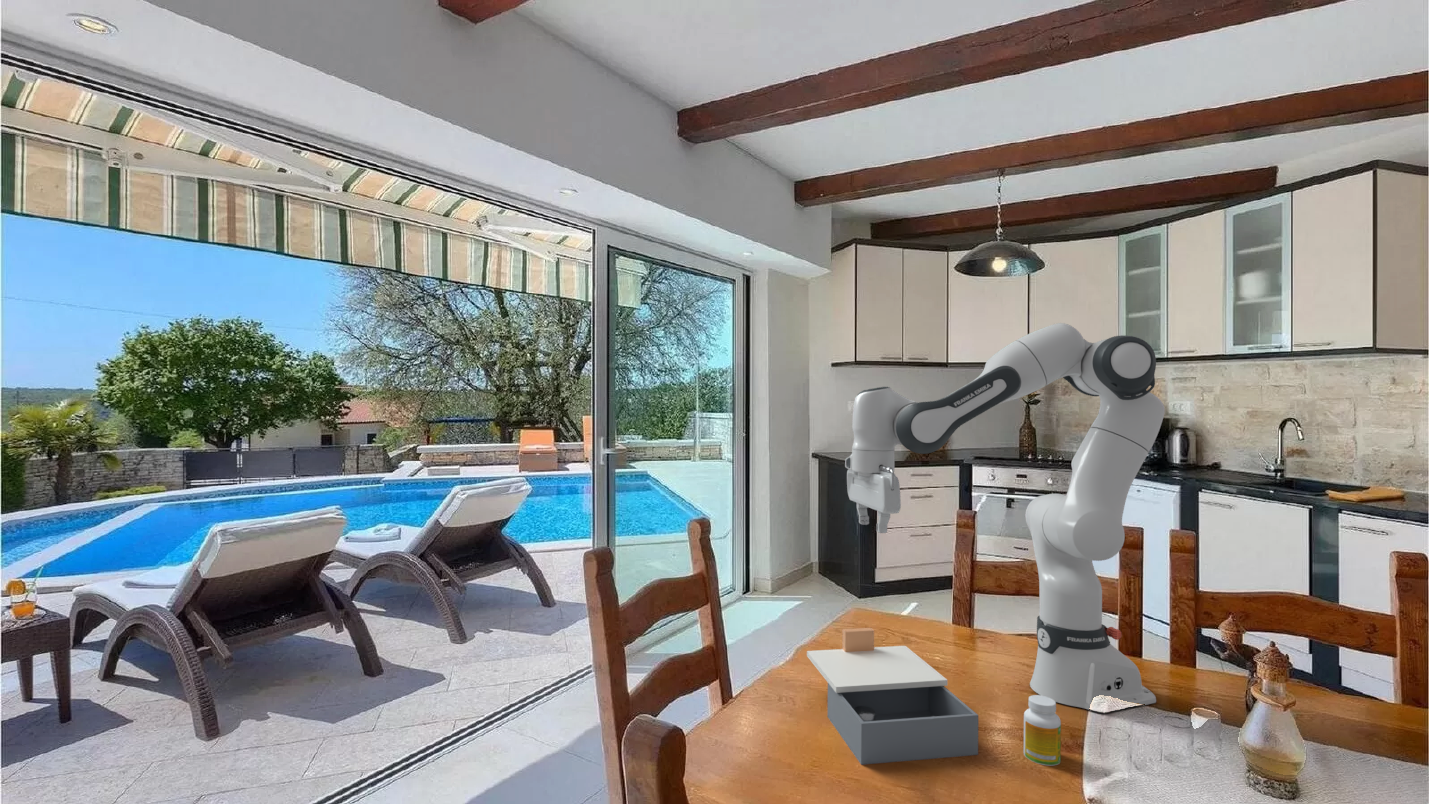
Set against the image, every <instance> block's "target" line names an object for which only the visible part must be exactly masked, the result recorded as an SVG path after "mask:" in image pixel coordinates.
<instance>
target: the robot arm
mask: <svg viewBox="0 0 1429 804" xmlns="http://www.w3.org/2000/svg"><path fill="white" fill-rule="evenodd" d="M983 368H984V369H983V370H982V372H981V373H980V374H979V376H978V377H976V378H975V379H973V380H972V381H970V382H969V383H966V384H965V385H964V386H961V387H960V388H958V389H957V390H955V391H953V392H951V393H950V394H948V395H946V396H944V397H942V398H940V399H936V400H932V401H931V400H930V401H920V402H918V401H916V400H913V399H910V398H907V397H906V396H903V395H902V394H900V393H898V392H897V391H895V390H893V389H892V388H891V387H890V386H880V387H874V388H869V389H864V390H861V391H860V392H859V393H857V395H856V396H855V398H854V402H853V405H852V406H853V407H852V408H853V409H852V424H851V425H852V427H851V428H852V429H851V430H852V433H853V442H852V446H851V454H850V455H849V456H847V457H846V458H845V460H844V461H845V463H844V467H845V468H846V469H847V471H846V485H847V486H846V488H847V489H846V490H847V495H848V498H849V500H850V501H852V502H853V503H856V510H857V515H858V523H859V524H860V525H862V526H863V525H865V526H867V525H869V524H870V516H869V515H868V509H869V508H870V509H872V510H874V511H877V516H878V520H877V521H878V522H877V523H876V524H875V525H876V528H875V531H876V532H877V533H880V534H886V533H888V525H889V521H890V518H891V514H892V515H893V514H899V512H900V511H901V507H902V506H901V505H902V502H901V487H900V485H901V484H900V481H899V478H898V476H897V475H896V473H894V472H895V462H896V460H895V457H896V456H895V454H896V453H895V448H896V446H897V445H898V446H899V445H902V446H903V447H904V448H906V449H907V450H908V451H909V452H912V453H915V454H922V455H923V454H924V455H925V454H931V453H934V452H936V451H938V450H940V449H941V448H942V447H943V446H944V445H945V444H946V443H948V441H949V440H950V438H951V436H952V435H953V434H954V433H955V432H956V431H957V429H958V428H960V427H961V426H963V425H964V424H966V423H967V422H969V421H971V420H972V419H975V418H976V417H978V416H980V415H982V414H983V413H985V412H987V411H988V410H990V409H992V408H994V407H995V406H998V405H1000V404H1003V403H1006V402H1011V401H1014V400H1016V399H1019V398H1023V397H1025V396H1028V395H1030V394H1033V393H1035V392H1037V391H1039V390H1041V389H1042V388H1045V387H1046V386H1048V385H1049V384H1052V383H1053V382H1055V381H1057V380H1059V379H1062V378H1063V379H1064V380H1065V381H1066V382H1068V383H1069V384H1070V385H1071V386H1072V388H1074V389H1075V390H1076V391H1078V392H1079V393H1081V394H1083V395H1086V396H1090V397H1099V403H1100V404H1099V411H1098V413H1097V416H1096V418H1095V419H1094V421H1093V423H1092V424H1091V426H1090V427H1089V429H1088V431H1087V433H1086V434H1085V437H1084V438H1083V439H1082V442H1081V443H1080V444H1079V447H1078V449H1076V450H1077V451H1076V452H1075V454H1074V456H1073V458H1072V460H1071V469H1072V470H1071V478H1070V482H1069V485H1068V488H1067V489H1068V490H1067V492H1066V494H1063V493H1062V494H1061V493H1049V494H1048V493H1047V494H1042V495H1038V496H1036V497H1035V498H1033V499H1031V500H1030V502H1029V503H1028V504H1027V507H1026V509H1025V516H1024V517H1025V524H1026V525H1027V528H1028V530H1029V533H1030V535H1031V540H1032V546H1033V552H1034V556H1035V563H1036V565H1037V566H1036V567H1037V573H1038V580H1039V581H1038V584H1039V585H1038V586H1039V596H1038V597H1039V607H1038V608H1039V615H1038V616H1037V618H1036V638H1037V640H1036V641H1037V652H1036V653H1037V654H1036V659H1035V665H1034V669H1033V672H1032V676H1031V680H1030V681H1029V686H1030V688H1031V689H1032V691H1034V692H1035V693H1036V694H1037V695H1041V696H1046V697H1049V698H1051V699H1053V700H1054V701H1055V702H1056V703H1059V704H1062V705H1066V706H1071V707H1077V708H1082V709H1086V710H1088V711H1090V710H1089V708H1090V704H1091V702H1092V700H1093V698H1094V697H1096V696H1099V695H1104V696H1111V697H1113V698H1118V699H1120V700H1123V701H1127V702H1134V703H1139V704H1145V705H1144V706H1147V705H1151V704H1156V703H1157V697H1156V695H1155V694H1154V693H1153V692H1152V691H1151V690H1150V689H1148V688H1147V687H1145V686H1144V685H1142V683H1143V682H1142V676H1141V673H1140V669H1139V668H1138V666H1137V665H1136V664H1135V663H1134V662H1133V660H1131V659H1130V658H1129V657H1127V656H1126V655H1125V654H1123V653H1122V652H1121V651H1120V650H1119V649H1117V648H1116V647H1115V646H1114V645H1112V644H1111V641H1110V639H1109V638H1112V639H1114V640H1115V641H1118V640H1120V639H1121V638H1122V634H1123V633H1122V631H1121V630H1120V629H1118V628H1115V627H1113V626H1109V627H1107V626H1106V625H1104V624H1103V587H1102V583H1101V580H1100V579H1099V578H1098V575H1097V573H1096V570H1095V567H1094V564H1093V561H1096V562H1097V561H1098V562H1101V561H1106V560H1110V559H1112V558H1113V557H1115V556H1116V555H1117V554H1118V553H1119V552H1120V551H1121V549H1122V548H1123V546H1124V543H1125V539H1126V538H1125V537H1126V535H1125V528H1124V526H1123V525H1124V524H1123V515H1124V510H1125V507H1126V506H1125V505H1126V501H1127V497H1128V495H1129V491H1130V488H1131V486H1132V484H1133V482H1134V480H1135V478H1136V476H1137V475H1138V474H1139V471H1140V469H1141V468H1142V466H1143V464H1144V462H1145V460H1146V458H1147V456H1148V455H1149V453H1150V452H1151V449H1152V447H1153V445H1154V443H1155V441H1156V439H1157V437H1158V434H1159V432H1160V429H1161V426H1162V423H1163V419H1164V418H1165V417H1164V416H1165V413H1166V408H1165V405H1164V403H1163V401H1162V400H1161V399H1160V398H1159V397H1158V396H1157V395H1155V394H1154V393H1152V392H1151V391H1153V390H1154V388H1155V386H1156V378H1155V377H1156V376H1155V374H1156V369H1157V359H1156V354H1155V351H1154V349H1153V347H1152V346H1151V345H1150V344H1149V342H1147V341H1145V340H1143V338H1139V337H1137V336H1133V335H1125V334H1123V335H1115V336H1112V337H1109V338H1106V339H1101V340H1099V341H1096V342H1089V341H1088V340H1086V339H1085V338H1084V337H1083V336H1082V334H1081V332H1080V331H1079V330H1078V329H1077V328H1075V327H1074V326H1072V325H1071V324H1068V323H1065V322H1058V323H1053V324H1050V325H1047V326H1045V327H1042V328H1040V329H1037V330H1035V331H1032V332H1030V333H1028V334H1025V335H1024V336H1022V337H1020V338H1018V339H1016V340H1014V341H1012V342H1011V343H1009V344H1007V345H1006V346H1004V347H1002V348H1001V349H1000V350H998V351H997V352H995V353H994V354H993V355H992V356H990V357H989V358H988V359H987V360H986V362H985V365H984V367H983Z"/></svg>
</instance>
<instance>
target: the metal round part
mask: <svg viewBox="0 0 1429 804" xmlns="http://www.w3.org/2000/svg"><path fill="white" fill-rule="evenodd" d="M854 710H855V712H856V713H857V714H858V715H859V717H860V718H861V719H862V720H863V722H866V721H875V711H874V710H873V709H872V708H869V707H865V706H859V707H856V708H855V709H854Z"/></svg>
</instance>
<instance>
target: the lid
mask: <svg viewBox="0 0 1429 804" xmlns="http://www.w3.org/2000/svg"><path fill="white" fill-rule="evenodd" d="M806 657H807V658H808V659H809V660H810V662H811V664H813V666H814V667H815V668H816V669H817V671H818V672H819V673H820V674H821V676H822V677H823V678H824V680H825V681H826V682H827V684H828V683H829V685H830V686H831V687H832V688H833V690H834V691H835V692H836V693H842V692H857V691H872V690H887V689H903V688H918V687H933V686H944V687H946V686H947V687H948V679H947V678H946V677H944V676H943V675H942V674H941V673H940V672H938V671H937V670H936V669H935V668H934V667H932V666H931V665H930V664H928V663H927V661H925V660H924V659H923V658H921V657H920V656H919V655H917V654H916V653H915V652H914V651H912V650H911V649H910V648H909V647H908V646H906V645H893V646H875V630H874V628H872V627H857V628H842V647H841V648H840V649H820V650H818V649H817V650H807V651H806Z"/></svg>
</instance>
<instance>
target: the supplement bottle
mask: <svg viewBox="0 0 1429 804" xmlns="http://www.w3.org/2000/svg"><path fill="white" fill-rule="evenodd" d="M1027 704H1028V708H1027V709H1026V710H1025V711H1024V712H1023V755H1024V757H1025V758H1027V759H1028V760H1029V761H1031V762H1033V763H1035V764H1038V765H1043V766H1049V767H1050V766H1051V767H1052V766H1057V765H1060V764H1061V761H1062V760H1061V759H1062V758H1061V754H1062V751H1061V749H1062V748H1061V745H1062V744H1061V742H1062V741H1061V739H1062V738H1061V737H1062V736H1061V733H1062V729H1061V728H1062V721H1061V719H1060V717H1059V715H1058V714H1056V712H1057V702H1055V701H1054V700H1053V699H1051V698H1049V697H1046V696H1041V695H1039V694H1033V695H1030V696H1028V703H1027Z"/></svg>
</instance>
